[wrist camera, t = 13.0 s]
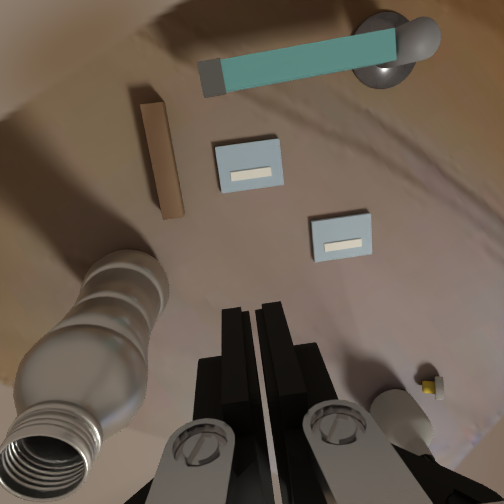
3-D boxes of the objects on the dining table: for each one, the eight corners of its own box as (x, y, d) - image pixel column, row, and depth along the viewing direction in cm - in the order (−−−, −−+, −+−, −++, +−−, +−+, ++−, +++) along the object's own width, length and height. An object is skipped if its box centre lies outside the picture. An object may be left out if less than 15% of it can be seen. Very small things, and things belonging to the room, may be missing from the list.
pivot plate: (417, 8, 31) (418, 7, 31) (417, 84, 33) (418, 84, 32) (347, 17, 31) (348, 16, 30) (351, 93, 32) (351, 92, 32)
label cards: (366, 126, 33) (368, 126, 33) (370, 252, 37) (372, 254, 36) (214, 146, 33) (214, 147, 32) (233, 272, 36) (234, 274, 36)
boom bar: (401, 29, 31) (440, 13, 25) (402, 65, 32) (441, 56, 26) (199, 66, 30) (195, 58, 25) (206, 101, 31) (204, 100, 26)
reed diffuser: (364, 442, 44) (478, 697, 25) (328, 399, 41) (423, 642, 23) (450, 388, 42) (639, 615, 23) (417, 341, 40) (597, 548, 21)
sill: (164, 101, 31) (162, 101, 30) (184, 212, 34) (183, 216, 33) (143, 104, 31) (139, 104, 30) (165, 215, 34) (162, 219, 33)
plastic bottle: (78, 255, 35) (-84, 431, 16) (157, 231, 35) (88, 379, 16) (109, 322, 37) (-2, 547, 18) (183, 299, 37) (150, 502, 18)
